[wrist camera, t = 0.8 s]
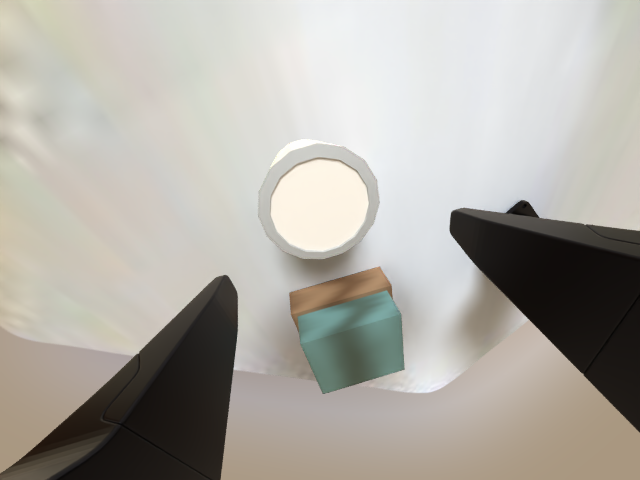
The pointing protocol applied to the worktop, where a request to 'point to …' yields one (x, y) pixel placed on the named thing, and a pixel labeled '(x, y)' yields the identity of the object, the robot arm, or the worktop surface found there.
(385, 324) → the teal and brown block
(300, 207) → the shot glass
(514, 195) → the worktop surface
